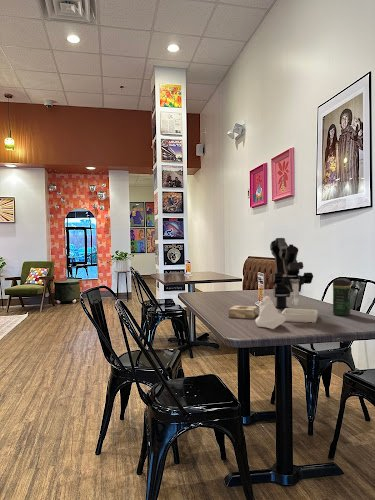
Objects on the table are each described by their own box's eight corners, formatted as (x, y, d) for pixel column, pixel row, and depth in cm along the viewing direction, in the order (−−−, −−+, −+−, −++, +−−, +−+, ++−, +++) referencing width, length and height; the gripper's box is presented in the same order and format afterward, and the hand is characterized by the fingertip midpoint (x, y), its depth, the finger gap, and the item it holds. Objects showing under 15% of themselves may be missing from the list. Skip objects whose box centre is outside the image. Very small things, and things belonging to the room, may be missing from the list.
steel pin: (288, 304, 180) (288, 279, 180) (295, 303, 182) (295, 278, 182) (294, 305, 176) (294, 279, 176) (302, 305, 178) (301, 279, 178)
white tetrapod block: (258, 333, 158) (249, 300, 160) (257, 328, 173) (249, 298, 174) (287, 326, 157) (278, 293, 158) (283, 321, 171) (274, 292, 173)
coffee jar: (347, 316, 183) (347, 279, 182) (331, 315, 187) (330, 278, 187) (352, 313, 190) (351, 277, 190) (336, 312, 195) (335, 277, 195)
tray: (285, 315, 190) (285, 308, 190) (317, 316, 184) (317, 309, 184) (281, 320, 175) (280, 313, 175) (315, 323, 169) (315, 315, 169)
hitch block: (234, 312, 198) (234, 305, 198) (257, 314, 193) (257, 306, 193) (228, 316, 187) (228, 309, 187) (252, 318, 182) (252, 310, 182)
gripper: (273, 256, 183) (278, 281, 173) (311, 256, 183) (319, 280, 172) (271, 271, 191) (275, 295, 181) (307, 271, 191) (314, 295, 180)
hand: (295, 291), depth 178 cm, fingers closed on steel pin, 4 cm apart
